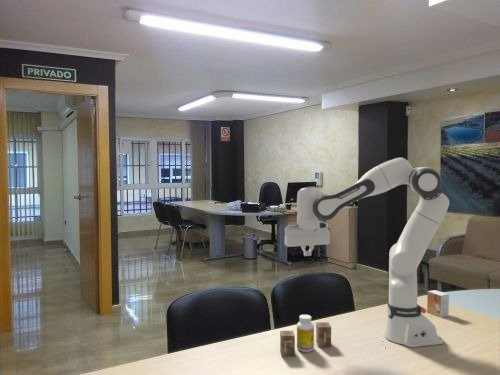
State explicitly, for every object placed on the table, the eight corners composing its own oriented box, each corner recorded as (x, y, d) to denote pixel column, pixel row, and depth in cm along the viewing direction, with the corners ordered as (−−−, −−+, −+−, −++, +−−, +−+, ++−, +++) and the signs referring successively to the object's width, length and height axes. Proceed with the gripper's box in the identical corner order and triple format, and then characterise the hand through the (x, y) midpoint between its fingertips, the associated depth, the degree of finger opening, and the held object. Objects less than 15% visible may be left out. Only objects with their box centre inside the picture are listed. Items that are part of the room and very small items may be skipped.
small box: (426, 312, 199) (427, 291, 199) (434, 310, 201) (435, 289, 201) (440, 317, 192) (440, 295, 191) (448, 315, 194) (449, 294, 194)
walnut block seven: (293, 350, 157) (293, 330, 157) (294, 357, 152) (294, 336, 152) (280, 351, 157) (280, 330, 157) (281, 357, 152) (281, 336, 152)
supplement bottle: (313, 353, 155) (313, 320, 155) (296, 351, 156) (296, 319, 156) (314, 346, 162) (314, 314, 161) (297, 344, 163) (297, 313, 162)
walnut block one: (328, 341, 166) (328, 322, 165) (331, 347, 161) (331, 327, 160) (316, 341, 166) (316, 322, 165) (318, 347, 161) (318, 327, 160)
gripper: (286, 225, 171) (287, 258, 171) (331, 223, 175) (332, 255, 176) (282, 224, 177) (282, 255, 177) (325, 222, 182) (325, 252, 182)
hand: (307, 255), depth 177 cm, fingers closed
